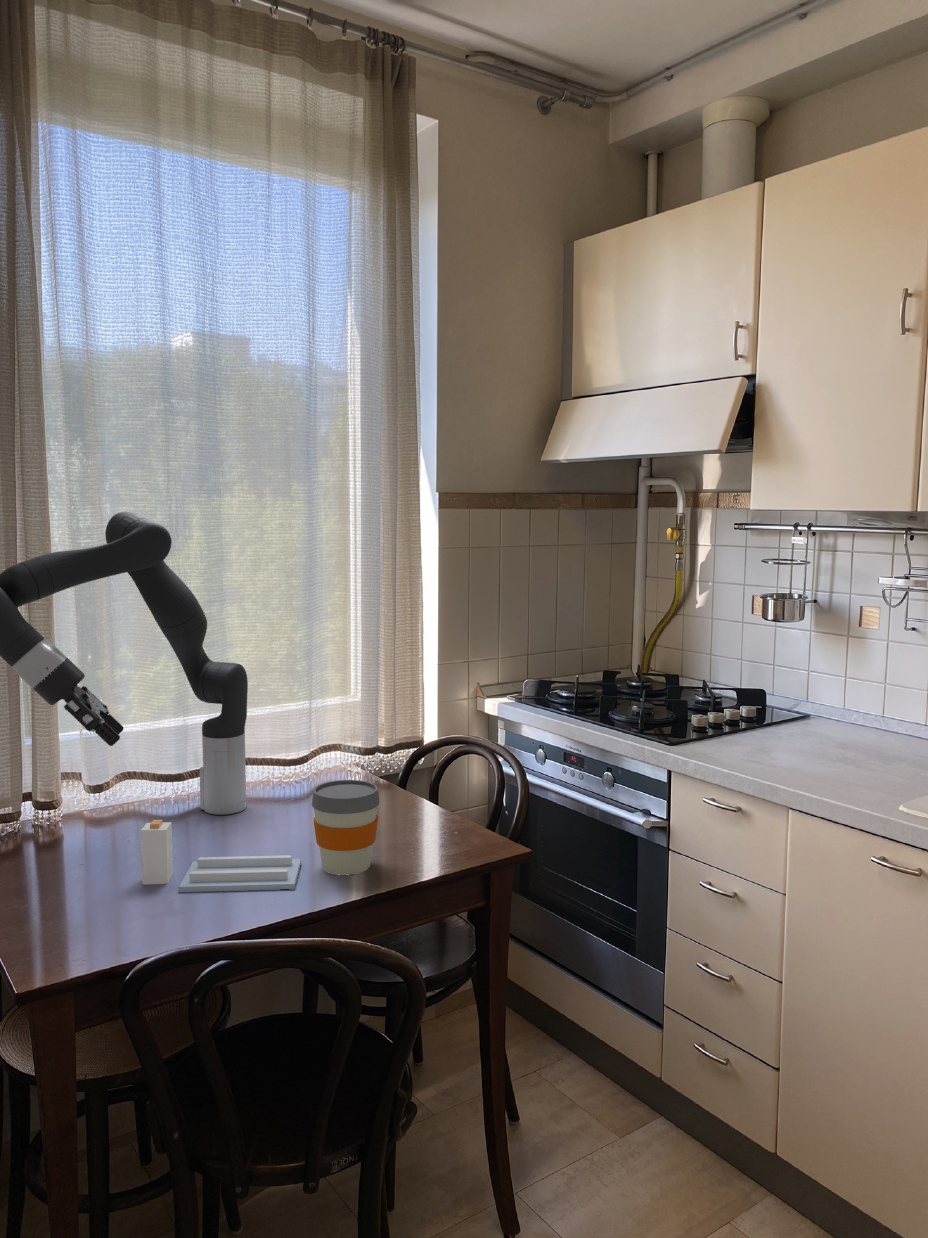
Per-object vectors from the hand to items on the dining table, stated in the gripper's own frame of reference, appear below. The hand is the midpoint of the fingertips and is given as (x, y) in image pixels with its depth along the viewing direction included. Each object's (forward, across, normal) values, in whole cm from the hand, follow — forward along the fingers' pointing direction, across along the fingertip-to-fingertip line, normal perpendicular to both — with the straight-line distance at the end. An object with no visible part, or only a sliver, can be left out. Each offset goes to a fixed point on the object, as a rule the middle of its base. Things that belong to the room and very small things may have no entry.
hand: (118, 737), depth 161 cm
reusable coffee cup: (+47, -2, -12) cm, 48 cm away
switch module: (+24, +1, +13) cm, 27 cm away
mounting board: (+34, -2, +2) cm, 34 cm away
